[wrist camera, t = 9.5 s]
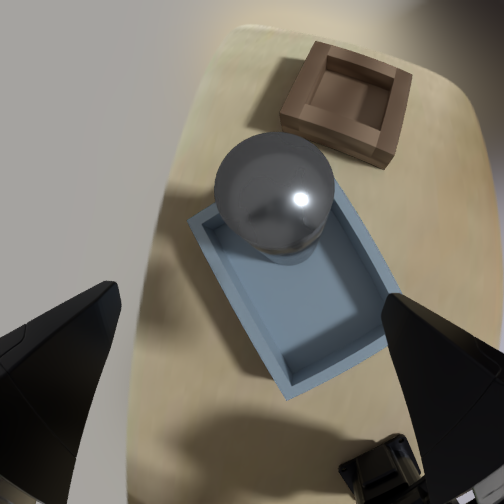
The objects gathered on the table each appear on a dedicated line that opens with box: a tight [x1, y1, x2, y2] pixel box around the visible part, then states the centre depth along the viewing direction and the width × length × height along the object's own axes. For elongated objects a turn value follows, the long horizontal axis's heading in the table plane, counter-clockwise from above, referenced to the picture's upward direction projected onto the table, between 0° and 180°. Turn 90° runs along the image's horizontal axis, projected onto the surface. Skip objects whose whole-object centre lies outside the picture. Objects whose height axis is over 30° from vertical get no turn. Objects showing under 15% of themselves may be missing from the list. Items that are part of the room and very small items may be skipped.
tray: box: [187, 178, 402, 401], centre depth 20 cm, size 14×10×4 cm
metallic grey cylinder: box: [214, 132, 335, 266], centre depth 16 cm, size 4×4×11 cm
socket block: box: [280, 41, 412, 170], centre depth 20 cm, size 9×9×3 cm
